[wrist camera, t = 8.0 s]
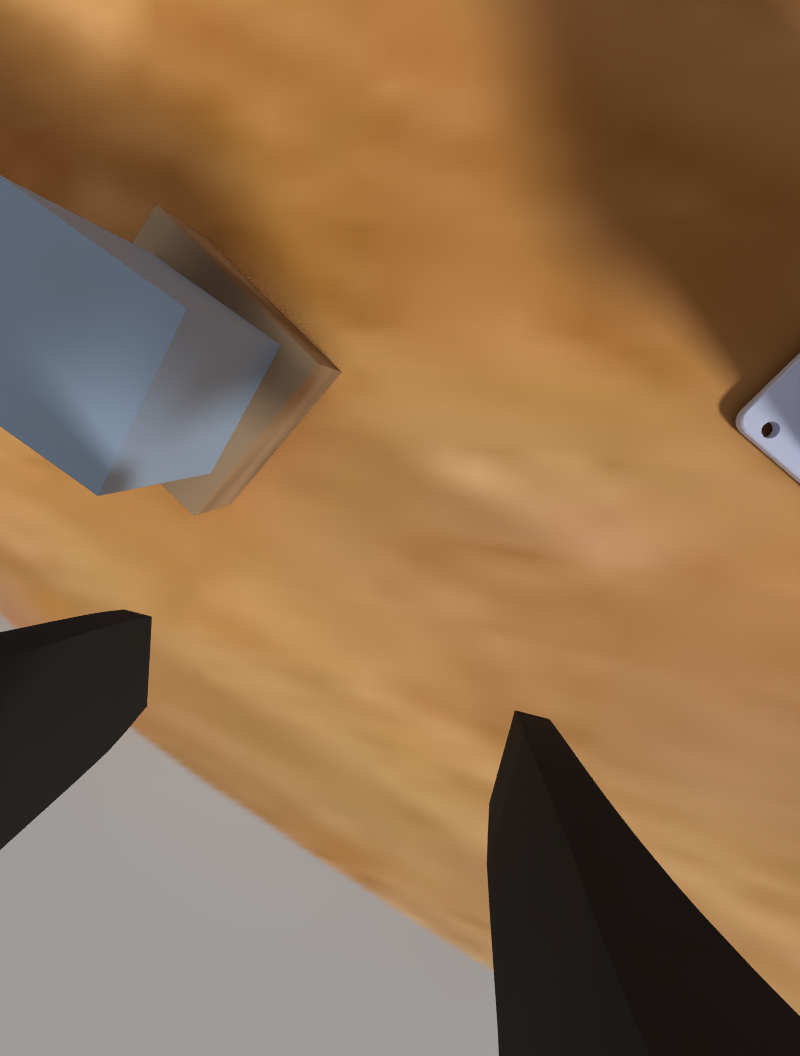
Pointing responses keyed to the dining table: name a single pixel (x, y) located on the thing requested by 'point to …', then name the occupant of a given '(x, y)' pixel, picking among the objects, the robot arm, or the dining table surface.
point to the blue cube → (114, 352)
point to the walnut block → (284, 385)
